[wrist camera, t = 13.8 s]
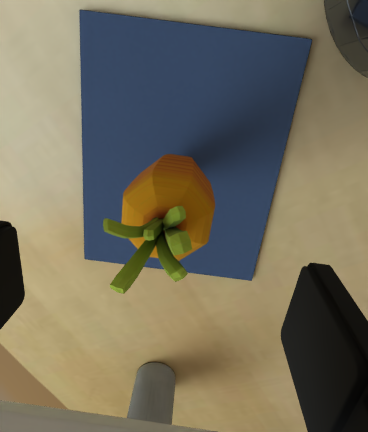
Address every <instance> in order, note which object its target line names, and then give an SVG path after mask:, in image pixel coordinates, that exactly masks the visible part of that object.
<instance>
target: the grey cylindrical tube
mask: <svg viewBox="0 0 368 432" xmlns="http://www.w3.org/2000/svg"><path fill="white" fill-rule="evenodd" d="M174 392H175V373H174V371H173V370H172V369H171V368H170V367H168V366H167V365H165V364H162V363H157V362H152V363H147V364H145V365H143V366H141V367H140V368H139V370H138V372H137V375H136V379H135V384H134V388H133V393H132V397H131V402H130V406H129V411H128V415H127V418H129V419H135V420H142V421H149V422H156V423H163V424H170V425H172V414H173V403H174Z"/></svg>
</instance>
